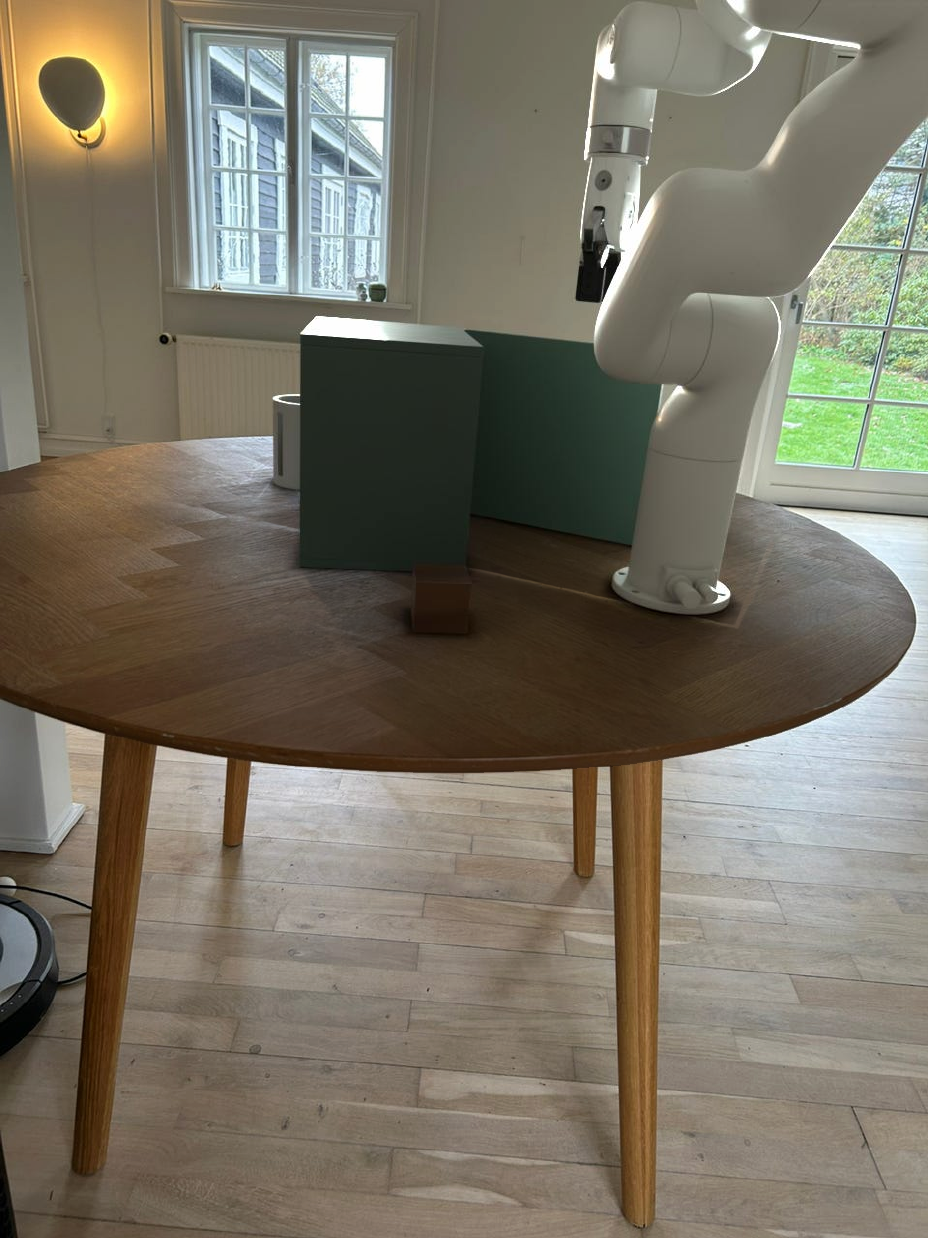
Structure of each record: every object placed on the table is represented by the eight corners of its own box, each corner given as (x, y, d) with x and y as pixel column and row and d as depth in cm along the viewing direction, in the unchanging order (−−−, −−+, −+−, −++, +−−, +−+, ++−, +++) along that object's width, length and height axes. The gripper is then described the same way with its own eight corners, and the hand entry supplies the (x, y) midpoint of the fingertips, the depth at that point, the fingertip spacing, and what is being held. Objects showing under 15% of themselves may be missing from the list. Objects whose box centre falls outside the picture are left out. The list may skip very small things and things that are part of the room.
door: (469, 500, 123) (483, 327, 113) (646, 534, 113) (677, 349, 104) (450, 509, 117) (464, 328, 108) (635, 546, 108) (667, 351, 99)
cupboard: (446, 509, 118) (459, 327, 108) (465, 573, 94) (484, 346, 85) (314, 503, 115) (316, 316, 106) (299, 567, 92) (300, 333, 82)
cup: (345, 480, 128) (347, 399, 124) (321, 493, 120) (322, 407, 116) (290, 472, 130) (289, 392, 126) (262, 485, 122) (261, 399, 117)
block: (467, 634, 79) (471, 583, 77) (413, 632, 78) (415, 581, 76) (461, 613, 83) (465, 565, 81) (410, 611, 82) (413, 563, 81)
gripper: (633, 137, 92) (611, 304, 99) (661, 160, 107) (640, 304, 114) (566, 135, 95) (549, 299, 101) (603, 158, 110) (586, 299, 116)
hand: (597, 301), depth 108 cm, fingers open, 9 cm apart
